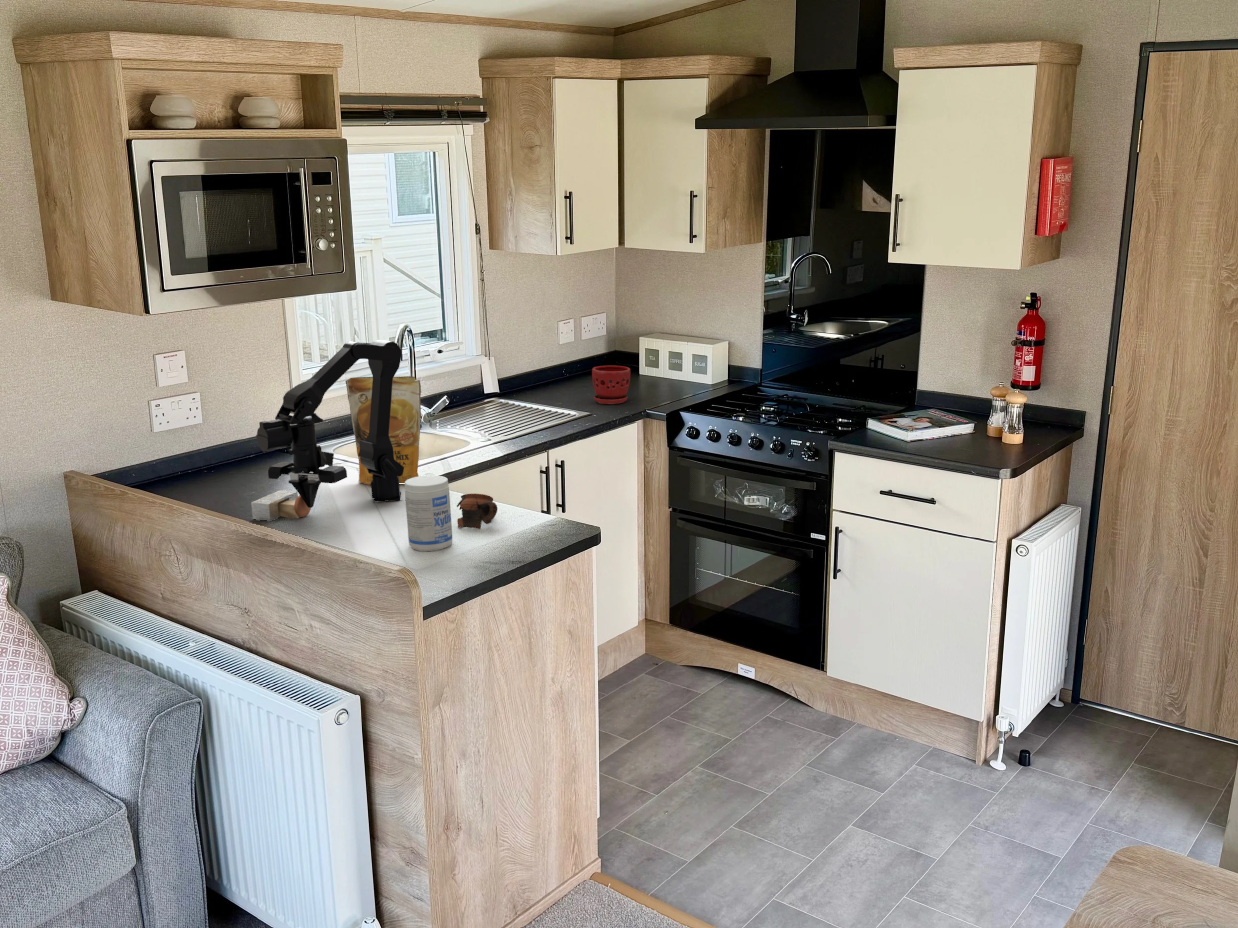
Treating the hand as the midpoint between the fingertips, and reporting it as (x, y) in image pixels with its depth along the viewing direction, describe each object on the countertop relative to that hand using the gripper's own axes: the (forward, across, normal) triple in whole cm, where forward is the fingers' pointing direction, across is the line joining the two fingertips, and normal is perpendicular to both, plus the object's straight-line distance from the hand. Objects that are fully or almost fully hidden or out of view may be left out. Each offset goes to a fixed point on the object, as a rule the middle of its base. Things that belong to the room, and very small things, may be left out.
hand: (310, 507), depth 272 cm
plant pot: (+3, -21, -143) cm, 145 cm away
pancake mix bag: (+3, -1, -33) cm, 33 cm away
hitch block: (+2, +10, 0) cm, 11 cm away
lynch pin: (+2, +7, 0) cm, 7 cm away
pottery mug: (+3, -42, -6) cm, 42 cm away
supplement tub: (+3, -38, +10) cm, 40 cm away
